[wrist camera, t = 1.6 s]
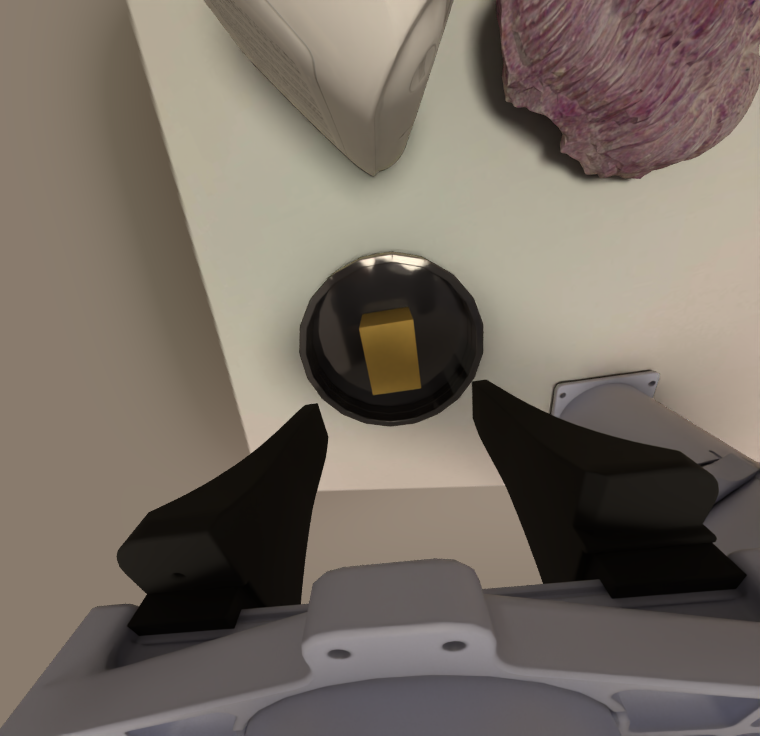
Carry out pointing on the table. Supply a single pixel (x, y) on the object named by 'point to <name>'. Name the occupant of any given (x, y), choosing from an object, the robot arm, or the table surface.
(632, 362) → the table surface
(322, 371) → the pan
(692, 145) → the fossil
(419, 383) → the cheese
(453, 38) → the table surface
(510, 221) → the table surface
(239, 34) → the photo printer
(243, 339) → the table surface
